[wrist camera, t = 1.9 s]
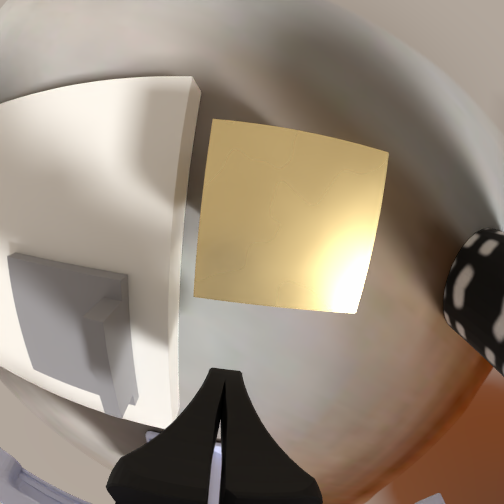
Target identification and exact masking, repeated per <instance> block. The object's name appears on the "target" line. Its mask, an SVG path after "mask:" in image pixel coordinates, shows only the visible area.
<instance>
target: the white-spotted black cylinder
mask: <svg viewBox="0 0 504 504" xmlns="http://www.w3.org/2000/svg"><path fill="white" fill-rule="evenodd" d="M443 305H444V314H445V319H446V321H447V323H448V325H449V326H450V327H451V328H452V329H453V330H454V331H456V332H457V333H458V334H459V335H460V336H461V337H462V338H463V339H465V340H466V341H467V342H468V343H469V344H470V345H471V346H472V347H473V348H474V349H475V350H477V351H478V352H479V353H480V354H481V355H482V356H483V357H484V358H485V359H486V360H487V361H488V362H489V363H490V364H491V365H492V366H493V367H494V368H495V369H496V370H497V371H499V372H500V373H501V374H502V375H503V376H504V232H502V231H499V230H496V229H491V228H487V229H482V230H480V231H478V232H477V233H475V234H474V235H473V236H472V237H471V238H469V240H468V241H467V242H466V243H465V244H464V246H463V247H462V249H461V250H460V252H459V253H458V255H457V257H456V259H455V261H454V263H453V265H452V267H451V270H450V273H449V276H448V278H447V283H446V287H445V292H444V300H443Z"/></svg>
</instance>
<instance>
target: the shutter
mask: <svg viewBox="0 0 504 504" xmlns="http://www.w3.org/2000/svg"><path fill="white" fill-rule="evenodd" d="M7 261H8V269H9V276H10V282H11V288H12V293H13V298H14V303H15V308H16V312H17V316H18V320H19V324H20V328H21V332H22V335H23V339H24V342H25V346H26V349H27V352H28V355H29V358H30V361H31V364H32V367H33V369H34V370H36V371H38V372H40V373H43V374H45V375H47V376H49V377H52V378H54V379H56V380H59V381H61V382H64V383H66V384H69V385H71V386H74V387H77V388H79V389H82V390H85V391H88V392H91V393H94V394H97V395H99V396H100V399H101V402H102V406H103V409H104V412H105V414H108V415H111V416H114V417H117V418H121V419H122V418H123V416H124V413H125V411H126V409H127V407H128V405H129V404H130V405H134V406H135V405H136V403H137V400H138V398H139V394H138V388H137V382H136V375H135V367H134V359H133V350H132V340H131V329H130V315H129V297H128V274H122V273H116V272H111V271H105V270H99V269H94V268H89V267H83V266H78V265H73V264H68V263H63V262H58V261H53V260H48V259H43V258H39V257H34V256H29V255H25V254H20V253H16V252H15V253H13V254H11V255H8V256H7Z"/></svg>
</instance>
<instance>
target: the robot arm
mask: <svg viewBox="0 0 504 504" xmlns="http://www.w3.org/2000/svg"><path fill="white" fill-rule="evenodd" d="M220 419H221V443H216V438H217V434H218V429H219V424H220ZM145 436H146V440H147V443H146V444H144V445H143V446H141V447H140V448H138V449H136V450H134V451H133V452H131V453H129V454H127V455H125V456H123V457H121V458H120V459H119V461H118V462H117V463H116V465H115V467H114V468H113V470H112V472H111V474H110V476H109V479H108V482H107V485H106V488H107V491H108V492H109V493H110V495H111V496H112V498H113V499H114V500H115V501H116V503H115V504H322V503H323V501H322V495H321V492H320V489H319V487H318V484H317V482H316V480H315V479H314V478H313V477H312V476H310V475H309V474H308V473H306V472H305V471H304V470H303V469H301V468H300V467H299V466H298V465H297V464H296V463H295V462H294V461H293V460H292V459H290V458H289V456H288V455H287V454H286V453H285V452H284V451H283V450H282V449H281V448H280V447H279V446H278V444H277V443H276V442H275V441H274V439H273V438H272V437H271V435H270V434H269V433H268V431H267V430H266V428H265V427H264V425H263V423H262V422H261V420H260V418H259V417H258V415H257V413H256V411H255V409H254V407H253V405H252V403H251V400H250V398H249V396H248V393H247V390H246V388H245V385H244V381H243V377H242V373H241V372H240V371H235V370H226V369H218V368H211V369H210V370H209V373H208V375H207V377H206V379H205V381H204V383H203V384H202V386H201V388H200V389H199V391H198V392H197V394H196V395H195V397H194V398H193V399H192V401H191V402H190V403H189V405H188V406H187V407H186V408H185V409H184V411H183V412H182V413H181V414H180V415H179V416H178V417H177V418H176V419H175V420H174V421H173V422H172V423H171V424H170V425H169V426H168V427H167V428H166V429H164V430H163V431H162V432H161V433H157V432H152V431H147V432H146V435H145ZM0 502H1V503H2V504H91V503H88V502H86V501H84V500H81V499H79V498H77V497H75V496H73V495H71V494H69V493H67V492H64V491H62V490H60V489H58V488H57V487H55V486H52V485H51V484H49V483H47V482H45V481H44V480H42V479H40V478H38V477H37V476H35V475H33V474H32V473H30V472H28V471H27V470H25V469H24V468H22V467H21V465H20V463H19V462H18V461H17V460H16V459H15V458H14V457H12V456H11V455H10V454H8V453H7V452H6V451H4V450H3V449H1V448H0ZM415 504H445V502H444V500H443V498H442V496H441V494H440V493H437V494H435V495H432V496H430V497H428V498H425V499H423V500H421V501H419V502H417V503H415Z"/></svg>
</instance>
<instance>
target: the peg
mask: <svg viewBox="0 0 504 504" xmlns="http://www.w3.org/2000/svg"><path fill="white" fill-rule="evenodd" d="M388 156H389V152H385V151H382V150H379V149H375V148H372V147H368V146H365V145H361V144H357V143H353V142H349V141H345V140H341V139H337V138H333V137H329V136H324V135H319V134H315V133H310V132H305V131H300V130H294V129H288V128H283V127H277V126H270V125H263V124H256V123H248V122H240V121H231V120H221V119H213V121H212V127H211V134H210V140H209V147H208V155H207V162H206V170H205V177H204V186H203V194H202V203H201V212H200V222H199V232H198V243H197V255H196V267H195V281H194V297H199V298H206V299H213V300H221V301H229V302H237V303H245V304H254V305H263V306H273V307H283V308H293V309H304V310H316V311H329V312H343V313H356V310H357V306H358V303H359V299H360V296H361V292H362V289H363V285H364V281H365V278H366V274H367V270H368V266H369V262H370V258H371V253H372V249H373V245H374V240H375V235H376V231H377V226H378V221H379V215H380V210H381V204H382V198H383V192H384V186H385V179H386V172H387V165H388Z"/></svg>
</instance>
